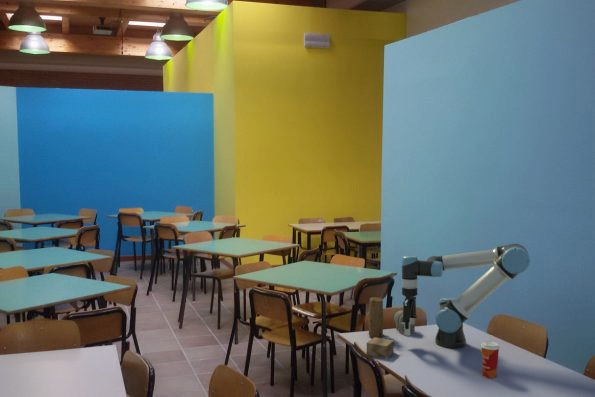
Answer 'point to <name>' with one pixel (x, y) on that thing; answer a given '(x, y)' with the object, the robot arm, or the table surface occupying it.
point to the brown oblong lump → (376, 317)
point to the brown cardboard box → (380, 347)
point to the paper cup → (489, 359)
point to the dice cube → (410, 328)
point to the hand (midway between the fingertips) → (409, 333)
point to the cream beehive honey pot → (398, 319)
